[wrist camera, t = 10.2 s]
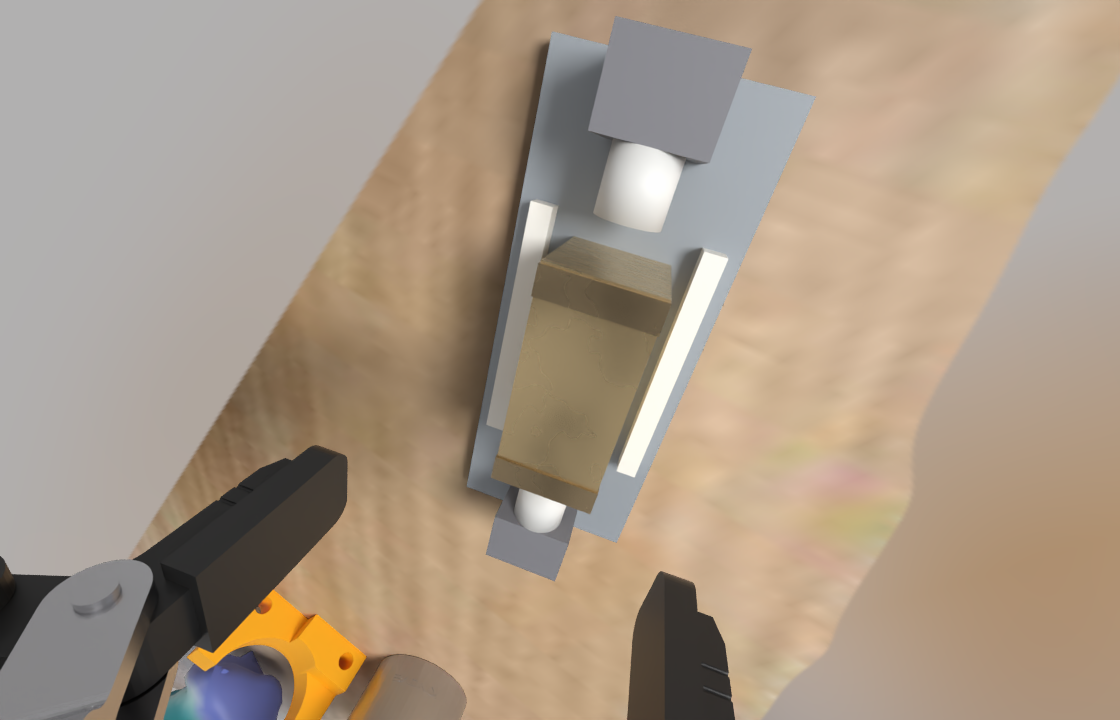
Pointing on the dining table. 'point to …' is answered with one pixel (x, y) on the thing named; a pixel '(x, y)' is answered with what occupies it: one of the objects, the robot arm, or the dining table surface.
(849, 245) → the dining table surface
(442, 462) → the dining table surface
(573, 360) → the tan tapered block
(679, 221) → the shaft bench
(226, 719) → the figurine
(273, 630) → the pipe clamp
